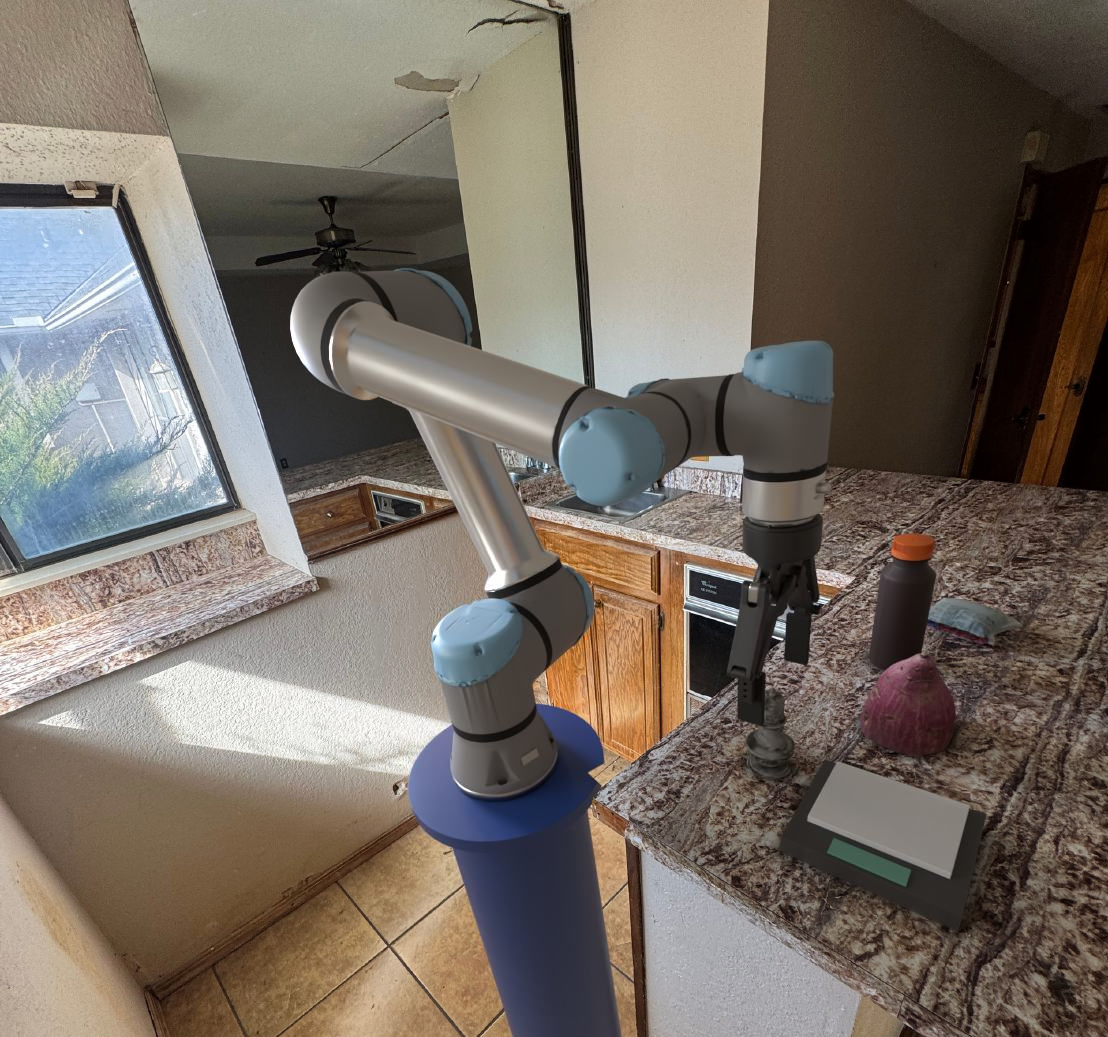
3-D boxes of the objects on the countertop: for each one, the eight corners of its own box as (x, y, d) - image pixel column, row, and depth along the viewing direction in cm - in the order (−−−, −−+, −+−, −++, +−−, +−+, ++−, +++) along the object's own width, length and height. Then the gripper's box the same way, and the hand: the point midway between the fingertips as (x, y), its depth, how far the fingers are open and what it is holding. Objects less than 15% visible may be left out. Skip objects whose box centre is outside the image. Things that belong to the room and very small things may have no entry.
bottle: (908, 649, 90) (929, 528, 81) (927, 672, 84) (953, 546, 75) (861, 651, 91) (878, 533, 82) (877, 675, 85) (897, 550, 76)
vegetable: (943, 780, 70) (991, 707, 60) (851, 752, 75) (881, 679, 64) (949, 715, 76) (993, 639, 66) (864, 693, 81) (893, 617, 70)
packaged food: (941, 610, 98) (946, 585, 96) (1020, 635, 89) (1028, 607, 87) (910, 628, 95) (915, 602, 93) (989, 656, 86) (996, 628, 83)
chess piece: (803, 766, 71) (811, 687, 66) (771, 788, 69) (776, 708, 63) (765, 743, 76) (769, 667, 70) (734, 763, 73) (735, 686, 68)
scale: (779, 851, 61) (781, 831, 60) (823, 772, 70) (825, 754, 69) (957, 931, 51) (964, 910, 50) (982, 828, 60) (988, 808, 59)
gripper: (770, 566, 47) (763, 763, 56) (859, 481, 62) (842, 647, 72) (687, 554, 51) (694, 739, 61) (790, 478, 67) (783, 634, 77)
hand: (774, 689), depth 67 cm, fingers open, 13 cm apart
